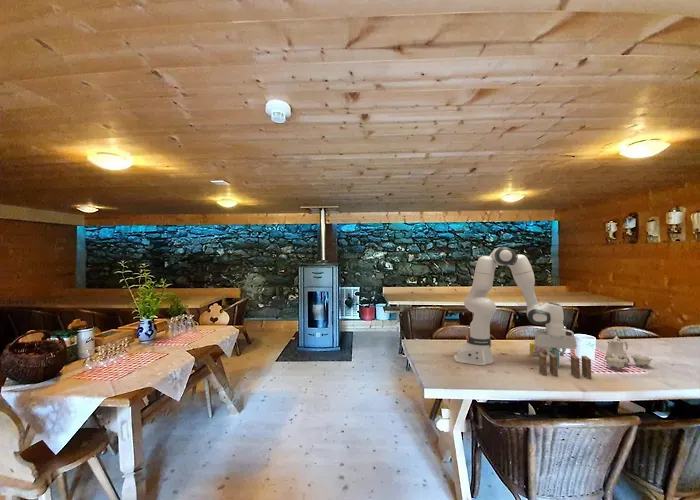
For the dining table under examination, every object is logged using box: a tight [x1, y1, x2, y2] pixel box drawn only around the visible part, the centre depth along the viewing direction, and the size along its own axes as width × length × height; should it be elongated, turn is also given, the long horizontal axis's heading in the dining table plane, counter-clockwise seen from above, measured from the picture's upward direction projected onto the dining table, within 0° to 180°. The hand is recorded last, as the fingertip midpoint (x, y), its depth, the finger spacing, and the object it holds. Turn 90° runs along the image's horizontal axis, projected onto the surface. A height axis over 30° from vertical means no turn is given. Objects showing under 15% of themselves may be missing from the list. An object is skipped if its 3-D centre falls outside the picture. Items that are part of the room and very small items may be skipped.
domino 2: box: [548, 354, 559, 377], centre depth 170 cm, size 2×6×10 cm, turn 163°
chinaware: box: [603, 335, 653, 371], centre depth 181 cm, size 28×17×17 cm, turn 106°
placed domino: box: [552, 348, 561, 369], centre depth 182 cm, size 2×6×10 cm, turn 163°
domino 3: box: [570, 354, 581, 379], centre depth 167 cm, size 2×6×10 cm, turn 163°
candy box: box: [529, 342, 552, 358], centre depth 202 cm, size 16×2×8 cm, turn 101°
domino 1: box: [538, 353, 548, 376], centre depth 171 cm, size 2×6×10 cm, turn 163°
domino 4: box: [581, 355, 592, 380], centre depth 166 cm, size 2×6×10 cm, turn 163°
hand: (555, 355), depth 182 cm, fingers open, 5 cm apart
